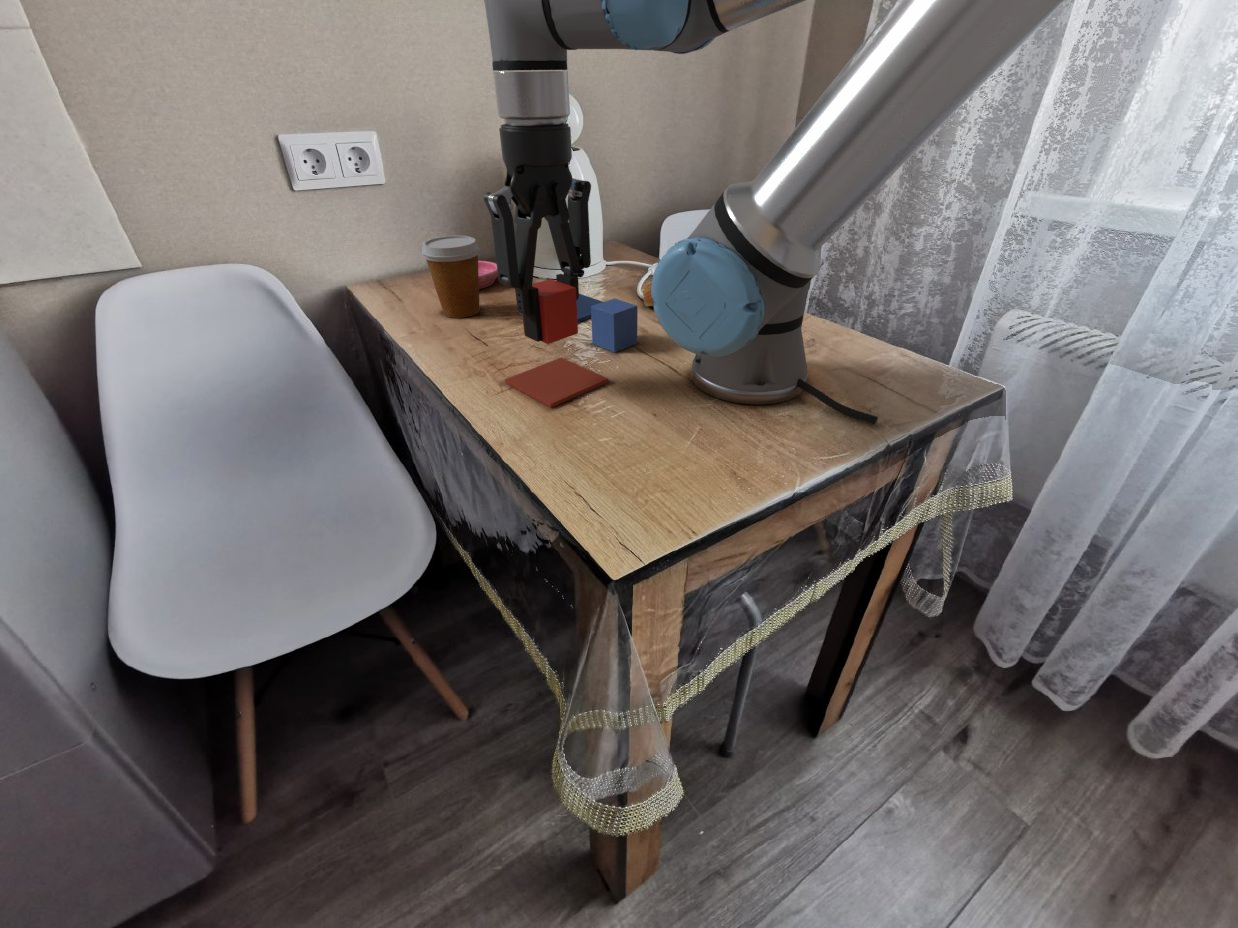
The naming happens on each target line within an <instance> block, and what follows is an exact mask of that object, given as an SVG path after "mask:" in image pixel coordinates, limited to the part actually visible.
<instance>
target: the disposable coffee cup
mask: <svg viewBox="0 0 1238 928" xmlns="http://www.w3.org/2000/svg"><path fill="white" fill-rule="evenodd" d="M480 250H481V248H480V246H479V245H478V243H477V240H476V238H474V237H473V236H468V235H445V236H444V235H443V236H436V237H432V238H429V239H426V240H424V241H423V242H422V249H421V255H422V256H423V258H424V259H425V261H426V264H427V267H428V270H429V273H430V276H431V279H432V282H433V285H434V289H435V291H436V294H437V297H438V300H439V303H440V306H441V309H442V312H443V315H444V316H445V317H448V318H451V319H452V318H453V319H460V318H461V319H462V318H469V317H472V316H474V315H477V314H478V313H480V311H481V310H480V309H481V308H480V307H481V306H480V289H479V273H478V261H479V254H480Z"/></svg>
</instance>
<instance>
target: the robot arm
mask: <svg viewBox="0 0 1238 928" xmlns="http://www.w3.org/2000/svg"><path fill="white" fill-rule="evenodd" d="M805 1H806V0H484V1H483V2H484V7H485V14H486V22H487V28H488V35H489V43H490V53H491V58H492V61H491V62H492V65H491V66H492V74H493V83H494V91H495V101H496V109H497V110H496V111H497V116H498V117H499V118H500V119H504V123H503V124H500V127H499V128H498V130H499V139H500V140H499V141H500V149H501V157H502V161H503V163H504V166H505V170H506V174H505V179H504V183H503V184H504V185H503V186H502V187H501V188H500V189H498V190H497V191H495V192H490V191H488V192H485V194H484V196H483V200H484V203H485V206H486V208H487V210H488V212H489V215H490V220H491V228H492V229H491V230H492V236H493V237H492V238H493V244H494V254H495V261H496V262H495V263H496V264H497V271H498V277H497V280H498V282H499V283H500V284H501V285H504V286H506V287H510V288H512V289H514V291H515V301H516V302H515V303H516V311H517V312H518V314H520V315H521V316H522V315H523V317H522V322H523V321H524V326H523V331H524V330H525V333H524V337H526V338H528V339H531V340H533V341H534V342H537V343H539V342H542V340H543V337H542V326H541V315H540V305H539V291H538V288H535V287H533V286H532V284H533V281H534V280H533V279H534V273H535V272H534V271H535V262H536V253H537V252H536V251H537V244H538V243H537V242H538V234H539V229H541V227H542V222H543V218H544V220H546V222H547V224H548V228H549V231H550V235H551V238H552V242H553V246H554V250H555V253H556V257H557V260H558V264H559V268H560V271H561V272H562V273H558V274H556V275H555V281H558V282H561V283H564V284H567V285H570V286H573V287H576V300H578V298H579V294H580V289H579V288H580V287H579V278H582V277H584V275H585V270H584V269H588V268H590V266H591V263H592V261H591V260H592V259H591V258H592V257H591V238H590V237H591V236H590V235H591V234H590V215H589V212H590V211H589V201H590V195H591V191H592V183H591V182H590V181H588V180H583V179H577V178H574V177H573V174H572V172H571V170H570V167H569V163H571V162H572V158H573V151H572V132H571V131H572V130H571V126H569V124H568V123H567V122H566V120H565V119H566V118H569V116H570V114H571V105H570V104H571V103H570V89H569V87H570V86H569V72H568V51H577V50H631V51H655V52H668V53H672V54H677V55H685V54H690V53H693V52H696V51H697V52H698V51H700V50H702V49H704V48H706V47H708V46H709V45H710V44H711V43H712V42H713V41H714V40H715V39H716V38H718V37H721V36H722V35H724V34H726V33H728V32H730V31H733V30H735V29H737V28H740V27H743V26H745V25H747V24H750V23H753V22H755V21H758V20H760V19H762V18H765V17H768V16H770V15H772V14H775V13H777V12H781V11H783V10H785V9H787V8H788V9H789V8H790V7H793V6H795V5H797V4H801V3H802V2H805ZM1064 2H1066V0H896V1H895V2H894V3H893V4H892V5H891V7H890V8H889V10H888V11H887V12H886V13H885V15H884V16H883V17H882V18H881V20H880V21H879V22H878V23H877V25H876V26H875V27H874V29H872V30H871V32H870V34H869V35H868V36H867V37H866V38H865V40H864V41H863V42H862V44H861V45H860V46H859V47H858V48H857V50H856V51H855V52H854V53H853V55H852V56H851V57H850V59H848V61H847V62H846V64H845V65H844V66H843V67H842V68H841V70H840V71H839V72H838V74H837V75H836V76H835V78H834V79H833V80H832V81H831V82H830V84H829V85H828V86H827V87H826V89H824V91H823V93H822V94H821V95H820V96H819V98H818V99H817V100H816V101H815V102H814V104H813V105H812V106H811V108H810V109H809V110H808V111H807V112H806V114H805V115H804V116H803V118H802V119H801V120H800V121H799V123H798V124H797V125H796V127H794V128H793V130H792V132H791V133H790V134H789V136H788V137H787V138H786V139H785V140H784V141H783V143H782V144H781V145H780V146H779V148H778V149H777V150H776V152H775V153H774V154H773V155H772V157H771V158H770V159H769V160H768V162H767V163H766V164H765V166H763V168H762V170H760V172H759V173H758V174H757V175H756V177H755V178H754V179H753V180H751V181H743V182H734V183H731V184H729V185H728V186H727V187H726V188H725V190H724V191H723V192H722V193H721V194H720V196H719V197H718V198H717V200H716V201H715V203H714V204H713V205H712V206H711V207H710V208H709V210H708V211H707V213H706V214H705V215H704V217H703V218H702V219H701V221H700V222H699V223H698V224H697V226H696V227H695V229H694V230H693V231H692V232H691V233H690V235H689V236H688V237H687V238H684V239H682V240H679V241H677V242H675V243H674V245H672V246H670V247H669V249H667V251H666V253H665V254H664V255H663V256H662V257H661V258H660V260H659V261H658V263H657V265H656V266H655V269H654V271H653V275H652V279H651V282H652V285H651V295H652V298H653V304H654V306H653V311H654V314H655V316H656V319H657V321H658V323H659V324H660V326H661V328H662V329H663V331H664V332H665V334H666V335H667V336H669V338H670V339H671V340H672V341H673V342H674V343H676V344H677V345H678V346H680V347H681V348H682V349H683V350H685V351H687V352H689V353H692V354H695V355H694V357H693V360H692V367H691V380H692V382H693V383H694V385H695V386H696V387H697V388H698V389H700V390H701V391H703V392H704V393H705V394H707V395H710V396H711V397H713V398H717V399H720V400H722V401H727V402H730V403H736V404H741V405H742V404H743V405H756V406H757V405H772V404H773V405H774V404H778V403H782V402H787V401H790V400H791V399H794V398H796V397H798V396H799V395H800V394H801V393H803V391H805V392H806V393H808V394H809V395H811V396H813V397H814V398H816V399H817V400H819V401H821V402H822V404H825V405H826V406H827V407H829V408H831V409H833V410H834V411H836V412H838V413H840V414H843V415H845V416H848V417H851V418H853V419H856V420H859V421H863V422H866V423H867V424H868V423H869V424H872V425H876V423H878V420H879V417H878V416H876V415H873V414H871V413H867V412H863V411H860V410H859V409H854V408H852V407H849V406H847V405H844V404H842V403H840V402H838V401H837V400H834V399H833V398H832V397H830V396H828V395H827V394H826V393H824V392H823V391H821V390H819V389H818V388H817V387H815V386H813V385H811V384H809V382H807V380H808V373H809V369H808V364H807V357H806V350H805V345H804V338H803V331H802V327H803V321H804V315H805V311H806V304H807V300H808V295H809V289H810V283H811V281H812V280H813V279H814V277H815V276H817V275H818V274H819V272H820V270H821V267H822V265H821V264H822V248H823V246H824V245H825V244H826V243H827V242H828V241H829V240H830V239H831V238H832V237H833V236H834V235H835V234H836V233H837V232H838V231H839V229H841V228H842V226H843V225H844V224H845V223H847V221H848V220H850V218H851V217H852V216H854V214H855V213H856V212H857V211H858V210H859V209H861V208H862V206H863V205H865V203H867V201H869V199H871V197H872V196H873V195H874V194H875V193H876V192H877V191H878V190H879V189H880V188H881V187H882V186H883V185H884V184H885V183H886V182H887V181H888V180H889V179H890V178H891V177H892V176H893V175H894V174H895V173H896V172H897V171H898V170H899V169H900V168H901V167H902V166H903V165H904V164H905V163H906V162H907V161H908V160H909V159H910V158H911V157H912V156H913V155H914V154H915V153H916V152H917V151H918V150H919V149H920V148H921V147H922V146H923V145H924V144H925V142H927V141H928V140H929V139H930V138H931V137H932V136H933V135H934V134H935V133H936V132H937V131H938V130H939V129H940V128H941V127H942V126H943V125H944V123H946V122H947V120H949V119H950V117H952V116H953V114H955V113H956V112H957V111H958V110H959V108H960V107H962V105H963V104H965V103H966V101H967V100H968V99H969V98H970V97H971V96H973V94H975V93H976V92H977V90H978V89H979V88H981V86H982V85H983V84H984V83H986V82H987V80H988V79H989V78H990V77H991V76H992V75H993V74H994V73H995V72H996V71H997V70H999V68H1000V67H1001V66H1003V64H1004V63H1006V61H1007V60H1008V59H1009V58H1010V57H1011V56H1012V55H1013V54H1014V53H1015V52H1016V51H1017V50H1018V49H1019V48H1020V47H1021V46H1022V45H1024V43H1025V42H1026V41H1027V40H1029V38H1030V37H1031V36H1032V35H1033V34H1034V33H1035V32H1036V31H1037V30H1038V29H1039V28H1040V27H1041V26H1042V25H1043V24H1044V23H1045V22H1046V21H1047V20H1048V19H1049V18H1050V17H1051V16H1052V15H1053V14H1054V13H1055V11H1056V10H1058V9H1059V8H1060V7H1061V6H1062V5H1063V4H1064ZM512 202H513V203H514V205H515V208H514V205H513V204H512ZM513 209H515V210H514V217H513V213H512V210H513ZM514 223H515V225H516V230H515V226H514Z"/></svg>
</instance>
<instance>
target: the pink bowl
mask: <svg viewBox="0 0 1238 928" xmlns="http://www.w3.org/2000/svg"><path fill="white" fill-rule="evenodd" d="M478 273H479V290H481V289H484V288H487V287H490V286H492V285H494V283H495V281H496V279H498V271H497V263H496V262H494V261H493V262H492V261H487V260H478Z"/></svg>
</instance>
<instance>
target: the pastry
mask: <svg viewBox="0 0 1238 928" xmlns="http://www.w3.org/2000/svg"><path fill="white" fill-rule="evenodd" d="M651 285H652V281H650V282H649V283H647V285H646V286H645V287H644V289H643V292H642V296H643V304H644V306H645V307H654V304H653V298H652V295H651Z"/></svg>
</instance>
